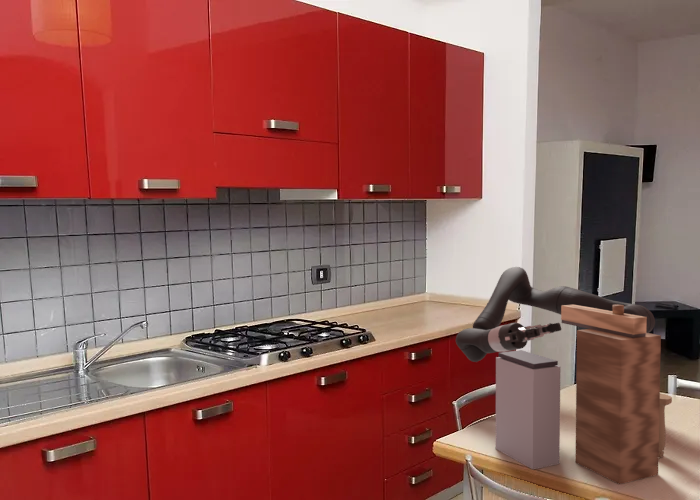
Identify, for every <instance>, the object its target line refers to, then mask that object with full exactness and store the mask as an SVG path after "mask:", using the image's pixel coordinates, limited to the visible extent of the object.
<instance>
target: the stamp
mask: <svg viewBox="0 0 700 500" xmlns="http://www.w3.org/2000/svg"><path fill="white" fill-rule="evenodd" d="M560 320H561V324H565V325H569V326H575V327H579V328H582V329H592V330H597V331H602V332H606V333H611V334H616V335H620V336H625V337H630V338H637V337H646V321H647V317H643V316H637V315H631V314H625V313H624V305H613V311H608V310H602V309H596V308H590V307H584V306H579V305H563V306H561V315H560Z"/></svg>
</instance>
